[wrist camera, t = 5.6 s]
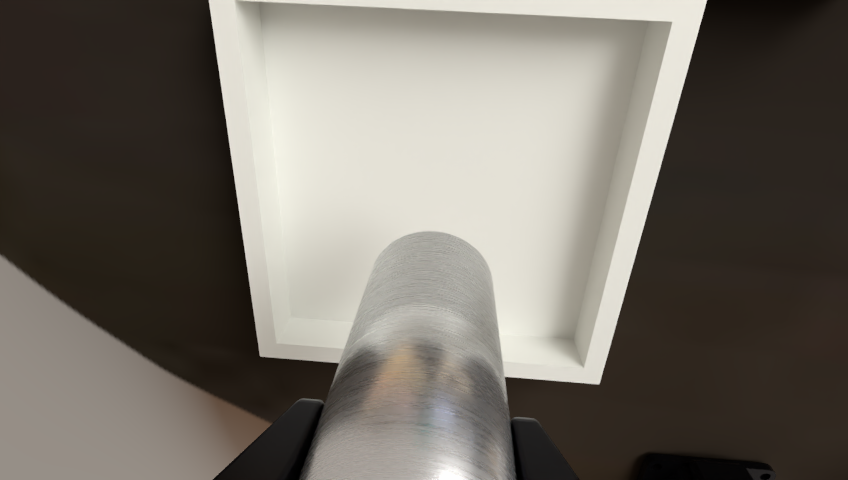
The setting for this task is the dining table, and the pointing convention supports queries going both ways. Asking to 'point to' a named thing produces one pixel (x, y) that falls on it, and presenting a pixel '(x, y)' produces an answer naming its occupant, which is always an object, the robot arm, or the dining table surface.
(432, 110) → the tray
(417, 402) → the pin
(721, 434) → the dining table surface
